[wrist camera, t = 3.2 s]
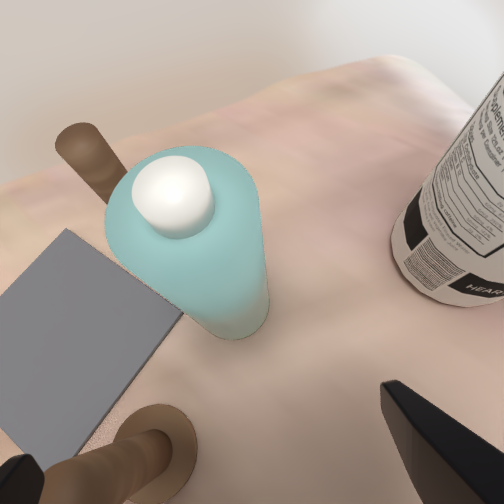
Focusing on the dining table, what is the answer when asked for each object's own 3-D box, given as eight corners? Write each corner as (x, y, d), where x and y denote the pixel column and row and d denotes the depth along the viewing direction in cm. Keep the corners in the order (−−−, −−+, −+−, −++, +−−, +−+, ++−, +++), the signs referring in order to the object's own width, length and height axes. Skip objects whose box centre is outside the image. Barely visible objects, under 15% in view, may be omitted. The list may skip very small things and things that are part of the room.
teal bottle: (241, 355, 21) (181, 306, 8) (183, 313, 22) (47, 210, 9) (283, 293, 22) (290, 162, 9) (225, 256, 24) (160, 98, 10)
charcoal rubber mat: (56, 481, 19) (52, 483, 18) (-57, 361, 22) (-62, 360, 22) (183, 313, 22) (181, 311, 22) (68, 230, 25) (66, 228, 25)
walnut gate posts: (202, 492, 18) (137, 583, 10) (115, 509, 18) (-23, 616, 10) (171, 187, 26) (121, 97, 18) (111, 199, 26) (34, 114, 18)
